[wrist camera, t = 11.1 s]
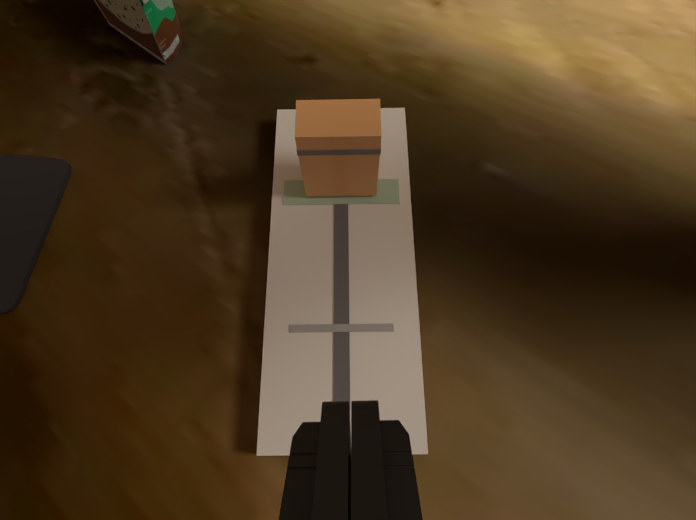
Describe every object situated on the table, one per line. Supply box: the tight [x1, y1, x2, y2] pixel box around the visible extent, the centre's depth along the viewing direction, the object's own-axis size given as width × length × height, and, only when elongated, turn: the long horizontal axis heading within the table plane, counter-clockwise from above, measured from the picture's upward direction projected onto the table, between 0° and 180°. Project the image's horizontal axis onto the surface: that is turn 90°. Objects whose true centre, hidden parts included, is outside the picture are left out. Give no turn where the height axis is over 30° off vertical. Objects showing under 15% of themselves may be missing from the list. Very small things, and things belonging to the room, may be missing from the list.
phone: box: [0, 154, 71, 313], centre depth 41 cm, size 7×1×15 cm
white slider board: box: [256, 108, 428, 456], centre depth 39 cm, size 30×12×2 cm, turn 0°
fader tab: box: [295, 99, 382, 197], centre depth 36 cm, size 3×6×8 cm, turn 90°
